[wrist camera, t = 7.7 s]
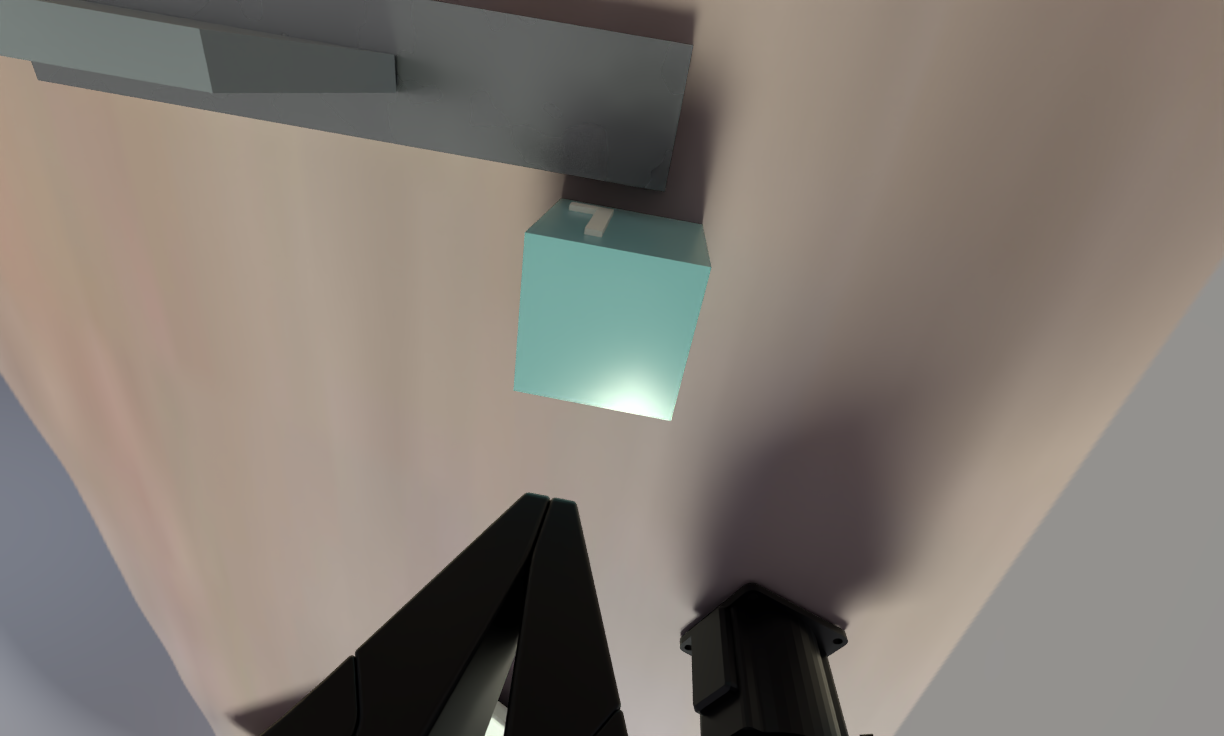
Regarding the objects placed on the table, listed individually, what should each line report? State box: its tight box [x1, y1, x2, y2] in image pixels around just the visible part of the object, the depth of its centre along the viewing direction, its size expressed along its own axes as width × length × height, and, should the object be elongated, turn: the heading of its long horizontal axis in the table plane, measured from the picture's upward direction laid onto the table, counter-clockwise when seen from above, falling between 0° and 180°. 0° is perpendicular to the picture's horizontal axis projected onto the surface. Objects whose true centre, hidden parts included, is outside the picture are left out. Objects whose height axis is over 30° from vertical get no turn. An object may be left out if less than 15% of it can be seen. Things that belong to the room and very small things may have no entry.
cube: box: [514, 198, 711, 421], centre depth 17 cm, size 5×5×5 cm
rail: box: [31, 0, 693, 192], centre depth 16 cm, size 21×4×1 cm, turn 82°
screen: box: [0, 0, 396, 93], centre depth 12 cm, size 12×1×7 cm, turn 82°
